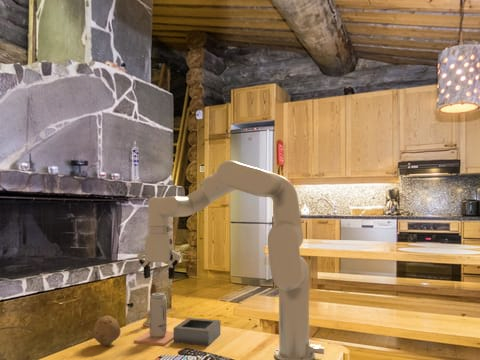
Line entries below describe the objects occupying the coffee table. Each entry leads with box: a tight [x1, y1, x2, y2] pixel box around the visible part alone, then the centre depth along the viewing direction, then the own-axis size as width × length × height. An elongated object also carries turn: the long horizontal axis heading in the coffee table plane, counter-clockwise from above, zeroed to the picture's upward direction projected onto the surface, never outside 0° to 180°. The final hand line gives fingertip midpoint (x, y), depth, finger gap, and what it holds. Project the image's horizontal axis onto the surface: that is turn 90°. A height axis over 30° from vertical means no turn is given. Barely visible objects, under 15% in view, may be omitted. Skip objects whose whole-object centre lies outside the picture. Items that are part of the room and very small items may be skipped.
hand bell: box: [142, 283, 158, 328], centre depth 158 cm, size 8×8×16 cm
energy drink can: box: [149, 292, 168, 339], centre depth 140 cm, size 6×6×15 cm
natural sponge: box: [92, 315, 121, 347], centre depth 133 cm, size 9×9×10 cm
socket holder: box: [172, 317, 221, 347], centre depth 140 cm, size 13×13×5 cm
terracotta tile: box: [133, 330, 174, 346], centre depth 140 cm, size 12×12×1 cm
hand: (159, 278), depth 141 cm, fingers open, 9 cm apart
